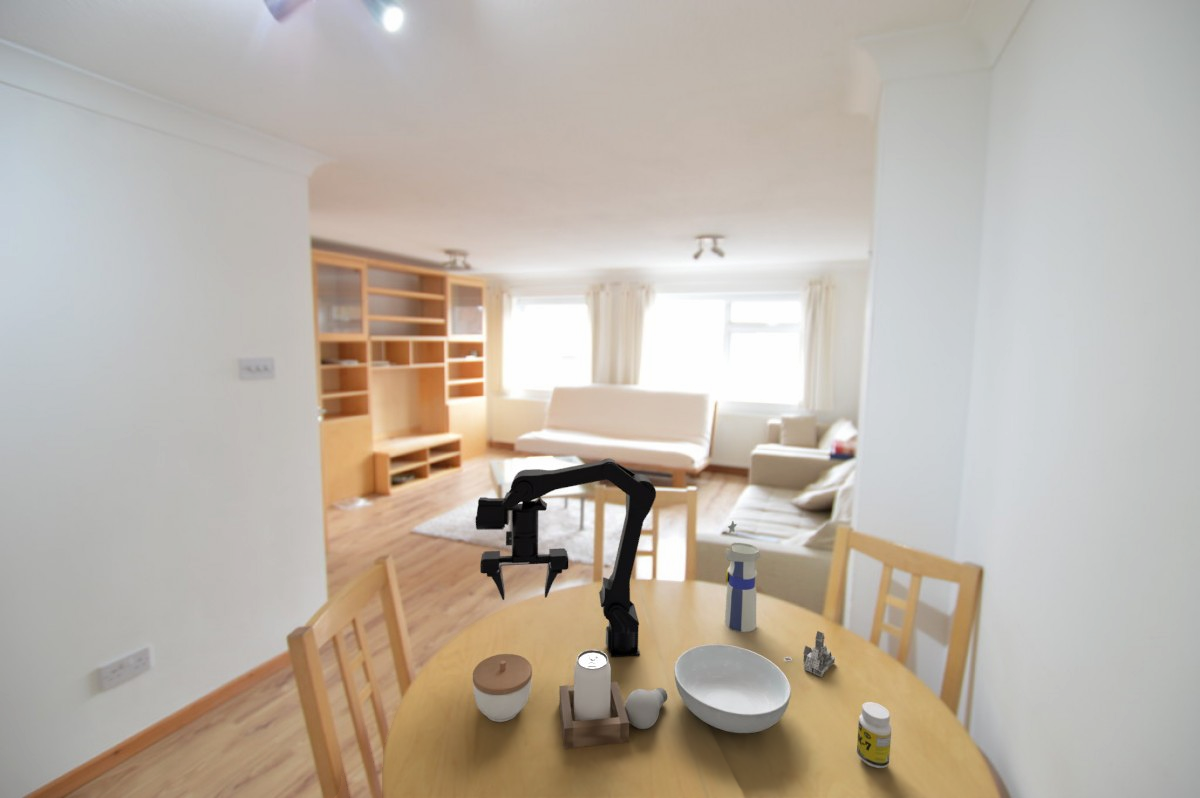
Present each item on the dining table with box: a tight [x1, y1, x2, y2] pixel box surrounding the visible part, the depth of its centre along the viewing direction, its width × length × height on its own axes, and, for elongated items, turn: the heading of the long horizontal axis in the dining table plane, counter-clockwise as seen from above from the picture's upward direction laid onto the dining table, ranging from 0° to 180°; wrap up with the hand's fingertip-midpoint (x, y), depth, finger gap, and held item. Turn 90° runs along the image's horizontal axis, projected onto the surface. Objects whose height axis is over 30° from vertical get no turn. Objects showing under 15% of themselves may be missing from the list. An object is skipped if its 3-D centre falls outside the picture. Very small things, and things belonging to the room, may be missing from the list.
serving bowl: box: [673, 643, 792, 734], centre depth 94 cm, size 21×21×7 cm
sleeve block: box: [558, 681, 630, 749], centre depth 91 cm, size 11×11×4 cm
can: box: [573, 649, 612, 721], centre depth 90 cm, size 6×6×12 cm
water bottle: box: [723, 520, 761, 633], centre depth 124 cm, size 8×9×25 cm
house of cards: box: [782, 630, 836, 678], centre depth 111 cm, size 9×9×8 cm
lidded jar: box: [472, 653, 533, 723], centre depth 93 cm, size 11×11×9 cm
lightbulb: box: [624, 687, 668, 730], centre depth 92 cm, size 6×6×11 cm
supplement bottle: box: [856, 701, 892, 769], centre depth 83 cm, size 5×5×8 cm
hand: (524, 597), depth 111 cm, fingers open, 9 cm apart
